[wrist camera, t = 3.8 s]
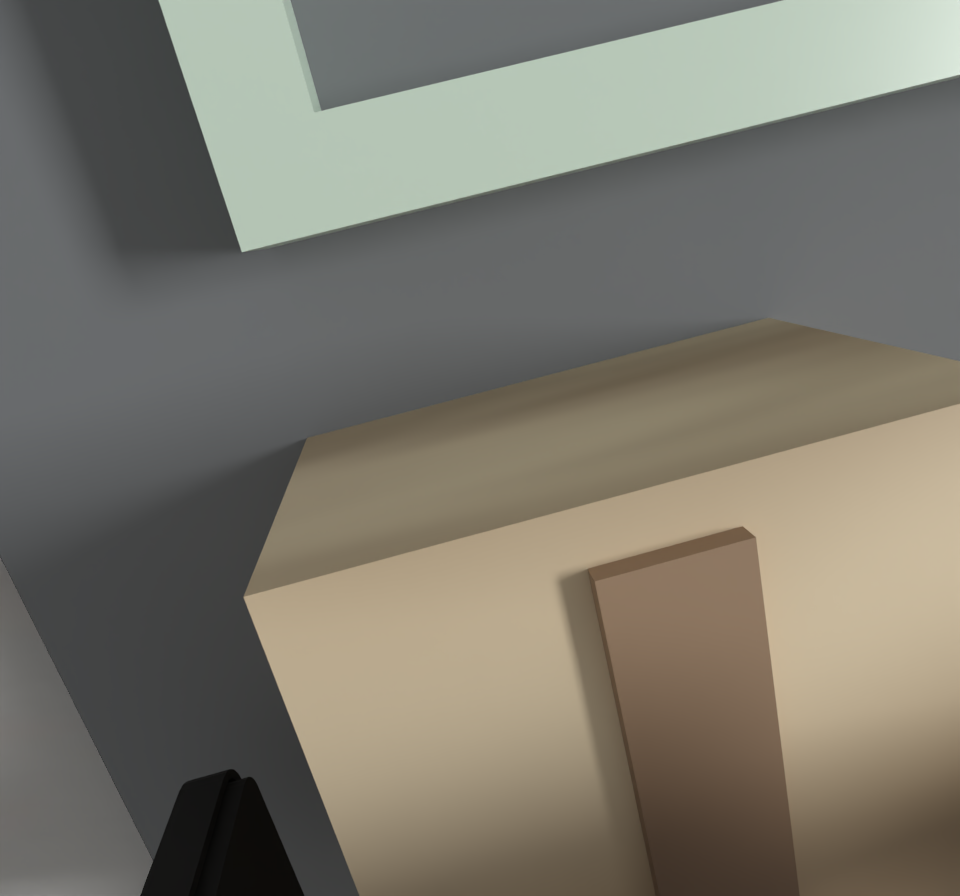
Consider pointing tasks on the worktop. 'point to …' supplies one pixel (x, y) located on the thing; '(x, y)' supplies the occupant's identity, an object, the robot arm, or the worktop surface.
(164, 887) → the robot arm
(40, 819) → the worktop surface
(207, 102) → the tray frame
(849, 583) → the wooden block
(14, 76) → the rubber mat
